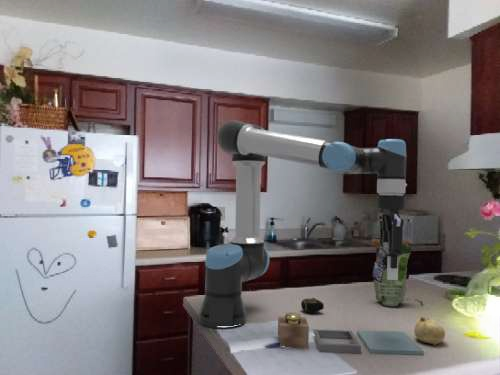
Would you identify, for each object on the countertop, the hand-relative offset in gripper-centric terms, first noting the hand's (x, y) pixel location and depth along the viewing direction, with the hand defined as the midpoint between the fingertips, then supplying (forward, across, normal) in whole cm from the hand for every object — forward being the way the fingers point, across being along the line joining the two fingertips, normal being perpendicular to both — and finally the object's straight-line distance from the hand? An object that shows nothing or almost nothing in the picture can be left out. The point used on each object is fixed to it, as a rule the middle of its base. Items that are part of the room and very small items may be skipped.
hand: (389, 277), depth 109 cm
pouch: (+19, +40, -14) cm, 46 cm away
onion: (+19, +3, -13) cm, 23 cm away
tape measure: (+18, +26, +15) cm, 35 cm away
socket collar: (+19, -2, +15) cm, 24 cm away
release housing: (+19, -2, +27) cm, 33 cm away
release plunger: (+18, -2, +27) cm, 33 cm away
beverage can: (+3, +3, 0) cm, 4 cm away
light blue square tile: (+19, 0, 0) cm, 19 cm away
